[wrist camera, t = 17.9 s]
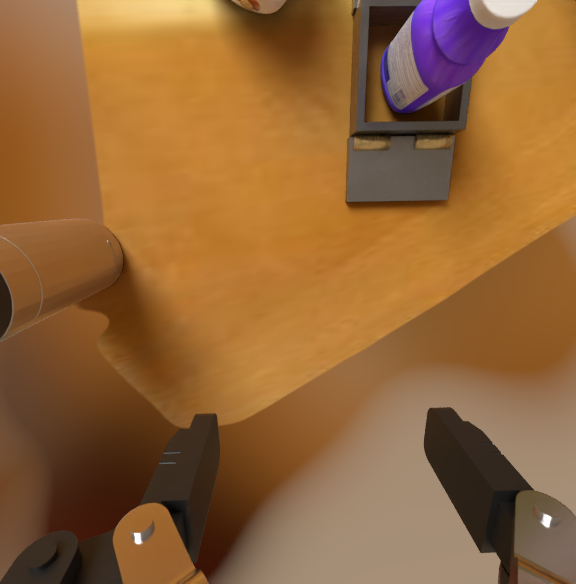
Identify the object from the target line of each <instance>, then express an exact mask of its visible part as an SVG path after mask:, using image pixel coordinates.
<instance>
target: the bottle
mask: <svg viewBox="0 0 576 584" xmlns="http://www.w3.org/2000/svg"><path fill="white" fill-rule="evenodd" d="M537 1H538V0H422V1H421V2H420V3H419V4H418V6H417V7H416V9H415V10H414V12H413V13H412V14H411V16H410V17H409V19H408V20H407V21H406V23H405V24H404V25H403V27H402V28H401V30H400V31H399V32H398V34H397V35H396V37H395V38H394V39H393V41H392V42H391V44H390V45H389V46H388V47H387V49H386V50H385V52H384V54H383V57H382V60H381V83H382V88H383V92H384V95H385V98H386V100H387V102H388V104H389V106H390V107H391V108H392V109H393V111H395V112H398V113H412V112H415V111H418V110H420V109H422V108H423V107H425V106H428V105H430V104H431V103H433V102H434V101H436V100H438V99H439V98H441V97H443V96H444V95H446V94H447V93H449V92H451V91H452V90H454V89H456V88H457V87H459V86H461V85H462V84H464V83H466V82H467V81H468V80H469V79H470V78H471V77H472V76H473V75H474V74H475V73H476V72H477V71H478V70H479V68H480V67H481V66H482V64H483V63H484V61H485V59H486V58H487V57H488V56H489V55H490V54H491V53H492V52H493V51H495V49H496V48H497V47H498V46H499V45H500V44H501V42H502V41H503V39H504V37H505V35H506V33H507V31H508V29H509V26H510V25H512V24H513V23H515V22H516V21H517V20H518V19H519V18H520V17H521V16H523V15H524V14H525V13H526V12H528V11H529V10H530V9H531V8H532V7H533V6H534V5H535V3H536V2H537Z"/></svg>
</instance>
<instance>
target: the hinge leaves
mask: <svg viewBox="0 0 576 584" xmlns="http://www.w3.org/2000/svg"><path fill="white" fill-rule="evenodd" d="M421 1H422V0H352V14H354V17H353V46H352V75H351V104H350V132H349V138H348V141H347V171H346V201H345V202H364V201H421V200H448V194H449V185H450V177H451V169H452V160H453V152H454V144H455V136H453V134H454V133H457V132H459V131H462V130H465V128H466V121H467V113H468V105H469V97H470V89H471V82H472V77H471V78H470V79H469V80H468V81H467V82H466V83H464V84H462V85H461V86H459V87H457V88H456V89H454V90H452V91H451V92H449V93H447V94H446V101H445V111H444V120H443V121H416V122H364V115H365V94H366V72H367V50H368V29H369V26H376V25H404V24H405V23H406V21H407V20H408V19H409V17H410V16H411V14H412V13H413V12H414V10H415V9H416V7H417V6H418V4H419V3H420V2H421Z"/></svg>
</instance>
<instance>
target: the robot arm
mask: <svg viewBox="0 0 576 584" xmlns="http://www.w3.org/2000/svg"><path fill="white" fill-rule="evenodd" d="M122 269H123V253H122V250H121V247H120V245H119V243H118V241H117V239H116V238H115V237H114V235H113V234H112V233H111V232H110V231H109V230H108V229H107V228H106V227H104V226H102V225H101V224H99V223H97V222H94V221H92V220H87V219H66V220H53V221H42V222H30V223H19V224H9V225H0V342H1V341H3V340H5V339H7V338H8V337H10V336H12V335H14V334H16V333H18V332H20V331H22V330H24V329H26V328H28V327H30V326H32V325H34V324H36V323H38V322H40V321H42V320H44V319H46V318H48V317H50V316H52V315H54V314H56V313H58V312H60V311H62V310H64V309H66V308H68V307H70V306H72V305H74V304H76V303H78V302H80V301H82V300H84V299H86V298H88V297H90V296H92V295H94V294H96V293H98V292H100V291H102V290H104V289H106V288H108V287H110V286H111V285H112V284H113V283H115V282H116V280H117V279H118V278H119V276H120V274H121V272H122ZM424 450H425V454H426V456H427V459H428V461H429V463H430V464H431V466H432V468H433V470H434V472H435V473H436V475H437V477H438V479H439V481H440V482H441V484H442V486H443V488H444V489H445V491H446V493H447V494H448V496H449V498H450V500H451V502H452V503H453V505H454V507H455V509H456V510H457V512H458V514H459V516H460V517H461V519H462V521H463V523H464V524H465V526H466V528H467V530H468V531H469V533H470V535H471V537H472V538H473V540H474V542H475V544H476V545H477V547H478V549H479V551H480V552H481V553H490V552H496V553H497V555H498V557H499V558H500V560H501V562H500V566H499V575H498V584H576V516H575V515H574V514H573V513H572V511H571V510H570V509H568V508H567V507H566V506H565V505H564V504H562V503H561V502H559V501H558V500H556V499H555V498H553V497H551V496H549V495H547V494H544V493H541V492H538V491H534V490H533V488H532V487H531V486H530V485H529V484H528V483H527V482H526V480H525V479H524V478H523V477H522V476H521V475H520V474H519V472H518V471H517V470H516V469H515V468H514V467H513V466H512V465H511V463H510V462H509V461H508V460H507V459H506V458H505V456H504V455H501V452H500V451H499V450H498V448H497V447H496V446H495V445H493V444H492V442H491V441H490V439H489V438H488V437H487V436H486V435H485V434H484V432H483V431H481V430H480V429H479V428H477V427H476V426H474V425H473V424H471V423H470V422H468V421H463V420H462V419H461V418H460V417H459V416H458V414H457V413H456V412H455V411H454V410H453V409H452V408H450V407H447V408H430V409H429V410H428V413H427V421H426V428H425V436H424ZM219 459H220V443H219V432H218V422H217V415H216V414H196V415H195V416H194V418H193V421H192V423H191V426H190V429H180V430H179V431H178V432H177V433H176V434H175V435H174V436H173V437H172V438H171V439H170V440H169V442H168V444H167V446H166V449H165V451H164V454H163V455H162V457H161V459H160V462H159V465H158V466H157V468H156V470H155V473H154V475H153V477H152V479H151V481H150V484H149V485H148V488H147V490H146V492H145V494H144V496H143V499H142V501H141V503H140V505H139V507H137V508H135V509H133V510H132V511H130V512H129V513H128V514H127V515H126V516H125V517H124V518H123V519H122V520H121V521H120V523H119V524H118V525H117V527H116V528H115V529H114V530H112V531H109V532H107V533H104V534H101V535H98V536H95V537H92V538H89V539H87V540H83V541H81V542H78V540H77V538H76V536H75V535H74V534H73V533H71V532H69V531H58V532H54V533H50V534H48V535H45V536H43V537H42V538H40V539H38V540H37V541H35V542H34V543H32V544H31V545H30V546H28V547H27V548H26V549H25V550H24V551H23V552H22V553H21V554H20V555H19V556H18V557H17V558H16V560H15V561H14V562H13V564H12V566H11V567H10V568H9V570H8V571H7V573H6V574H5V576H4V577H3V579H2V580H1V582H0V584H208V582H207V580H206V578H205V576H204V574H203V572H202V571H201V570H200V569H198V570H196V569H195V567H194V565H193V563H192V562H196V561H197V557H198V553H199V548H200V544H201V540H202V535H203V531H204V527H205V522H206V518H207V513H208V509H209V504H210V501H211V496H212V492H213V487H214V483H215V479H216V475H217V470H218V466H219Z"/></svg>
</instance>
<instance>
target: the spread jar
mask: <svg viewBox="0 0 576 584" xmlns="http://www.w3.org/2000/svg"><path fill="white" fill-rule="evenodd" d="M230 1H231V2H233V3H234V4H235V5H237V6H238V7H240V8H242V9H244V10H247V11H249V12H253V13H257V14H271V13H274V12H276V11H277V10H279V9H280V8H281V7H282V6H283V4H284V3H285V2H286V0H230Z"/></svg>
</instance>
